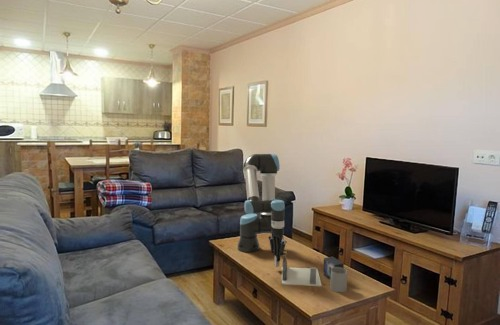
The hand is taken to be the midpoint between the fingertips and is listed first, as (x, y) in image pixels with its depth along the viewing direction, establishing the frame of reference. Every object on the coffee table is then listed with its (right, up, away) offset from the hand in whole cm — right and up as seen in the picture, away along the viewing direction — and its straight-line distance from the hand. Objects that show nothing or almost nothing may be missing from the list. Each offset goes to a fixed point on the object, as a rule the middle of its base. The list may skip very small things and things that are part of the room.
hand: (276, 266), depth 206 cm
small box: (+31, -4, -9) cm, 32 cm away
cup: (+31, -6, -21) cm, 38 cm away
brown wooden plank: (+4, -2, -3) cm, 6 cm away
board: (+13, -4, -8) cm, 15 cm away
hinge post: (+3, -4, -13) cm, 14 cm away
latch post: (+18, -5, -17) cm, 25 cm away
